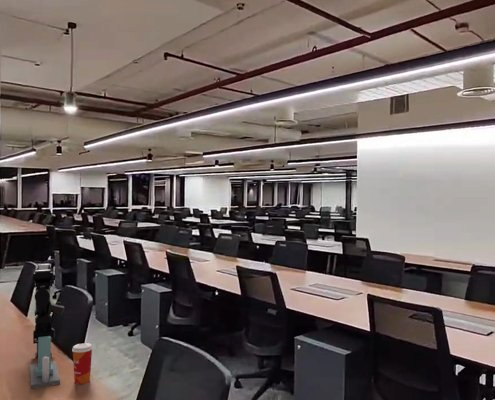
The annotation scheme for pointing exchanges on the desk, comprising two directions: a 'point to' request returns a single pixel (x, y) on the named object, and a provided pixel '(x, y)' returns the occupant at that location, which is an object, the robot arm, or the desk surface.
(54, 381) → the track
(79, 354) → the paper cup
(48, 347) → the teal upright block
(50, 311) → the robot arm
